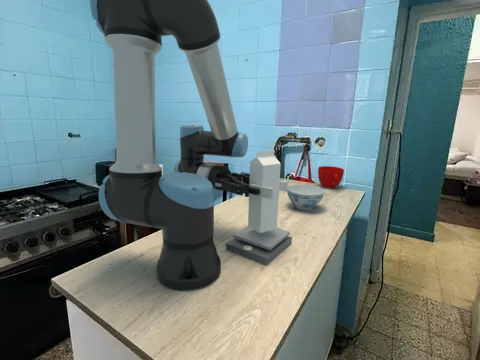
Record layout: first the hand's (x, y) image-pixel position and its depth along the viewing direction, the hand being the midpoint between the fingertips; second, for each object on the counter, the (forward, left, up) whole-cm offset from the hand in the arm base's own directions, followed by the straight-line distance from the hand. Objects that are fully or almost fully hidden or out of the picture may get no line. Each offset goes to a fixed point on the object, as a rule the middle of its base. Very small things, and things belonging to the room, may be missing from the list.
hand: (279, 190), depth 71 cm
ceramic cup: (+77, +9, -18) cm, 80 cm away
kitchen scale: (0, +5, -18) cm, 18 cm away
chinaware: (+39, +8, -18) cm, 44 cm away
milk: (0, +5, -12) cm, 13 cm away
